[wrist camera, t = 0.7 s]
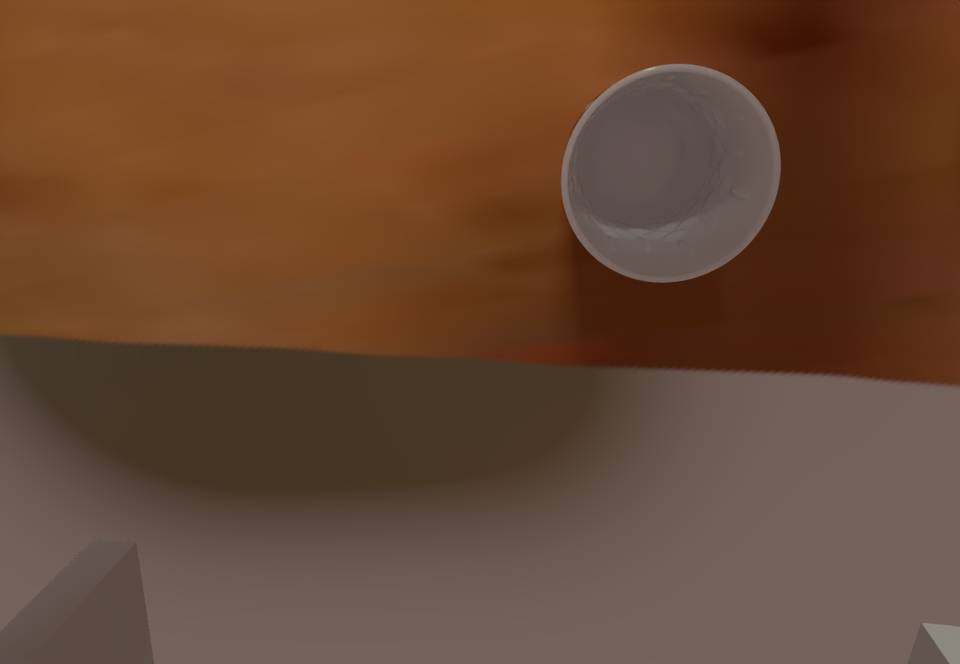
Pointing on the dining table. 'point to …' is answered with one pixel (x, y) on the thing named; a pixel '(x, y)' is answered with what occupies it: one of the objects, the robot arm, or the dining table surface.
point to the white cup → (670, 173)
